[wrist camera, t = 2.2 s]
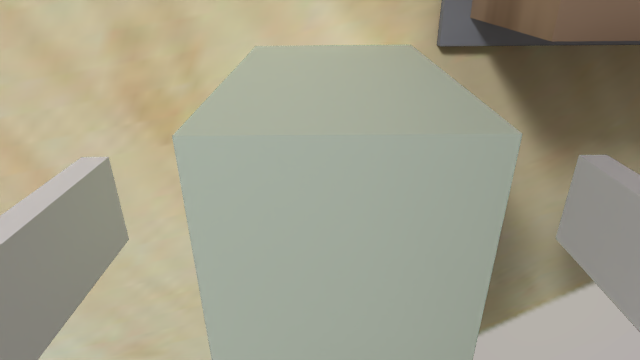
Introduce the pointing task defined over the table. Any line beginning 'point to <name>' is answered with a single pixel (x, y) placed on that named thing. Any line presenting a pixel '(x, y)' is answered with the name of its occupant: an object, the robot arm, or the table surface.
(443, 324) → the sage block
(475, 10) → the walnut block
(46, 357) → the table surface
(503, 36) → the slate mat
